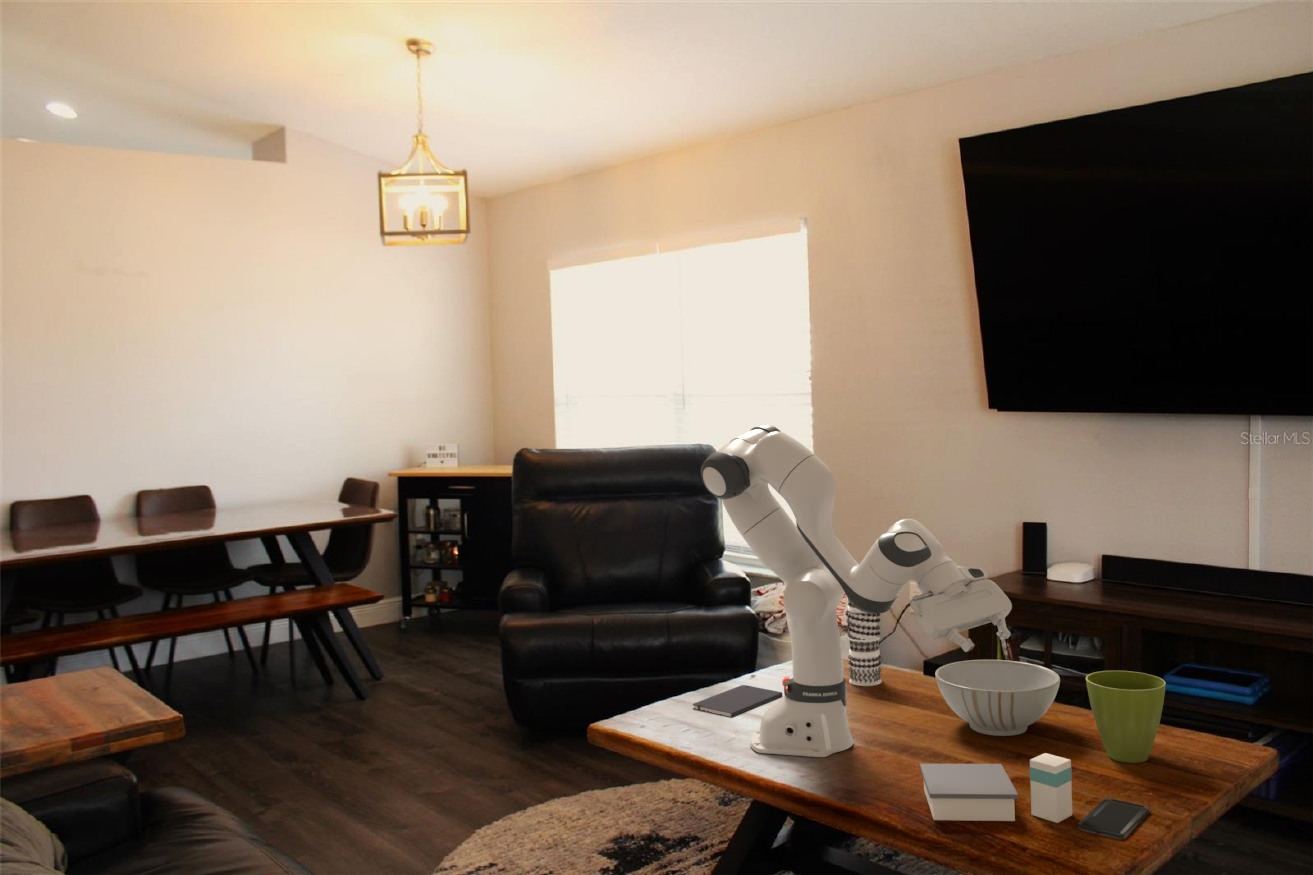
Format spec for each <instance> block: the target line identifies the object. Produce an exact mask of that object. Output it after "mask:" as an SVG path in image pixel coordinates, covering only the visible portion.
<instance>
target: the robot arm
mask: <svg viewBox="0 0 1313 875" xmlns="http://www.w3.org/2000/svg"><path fill="white" fill-rule="evenodd" d="M700 477H701V480H702V483H703V485H704V487H705V489H706V490H707V491H708V492H709V493H710V495H712V496H714V497H715V498H716V499H720V500H721V501H722V504H723V506H724V508H725V511H726V513H727V514H728V516H729V518H730V520H731V521H732V523H733V525H734V526H735V528H736V529H737V531H738V533H739V534H740V535H741V537H742V538H743V539H744V541H745V542H746V543H747V545H748V546H749V548H751V550H752V551H753V553H754V554H755V555H756V557H757V558H758V560H759V561H760V563H761V564H763V566H764V567H766V568H768V569H769V570H770V571H772V573H774V574H775V575H776V576H777V577H778V578H779V579H780V580H781V581H782V582H783V583H784V584H785V585H786V586H785V588H784V592H783V597H782V599H783V600H782V601H783V602H782V603H783V608H784V610H785V611H784V612H785V614H786V615H785V616H786V621H787V627H788V632H789V638H790V644H791V662H792V663H791V664H792V678H790V676H784V677H783V678H782V686H783V692H784V693H783V694H784V696H782V697H780V699H779V700H777V701H776V702H775V703H774V704H772V705H771V706H769V707H768V708H766V710H765V711H764V713H763V715H762V718H761V721H760V728H759V729H757V730H755V731H754V732H753V733H752V735H751V737H750V747H751V749H752V750H753V751H755V752H756V753H758V754H770V755H771V754H773V755H785V756H786V755H787V756H798V757H799V756H801V757H813V758H825V757H828V756H831V755H832V754H835V753H838V752H843V751H845V750H848V749H850V748H851V747H852V746H853V745H854V739H853V736H852V733H851V730H850V726H849V721H848V720H849V719H848V714H847V707H846V705H847V701H848V693H847V692H848V691H847V689H848V688H847V682H846V678H844V658H843V657H844V656H843V653H844V652H843V642H842V640H841V635H840V631H839V623H838V614H837V609H838V608H837V607H838V605H839V604H840V603H841V601H842V600H843V599H844V598H843V597H844V594H845V596H846V597H847V600H848V599H849V600H850V602H851V603H852V604H853V605H854V606H855V607H856V608H857V609H858V610H860V611H862V612H865V613H870V614H879V613H880V614H884V613H887V612H888V611H890V609H891V608H892V606H893V605H894V602H895V601H896V599H897V597H898V596H899V594H900V593H901V592H902V591H903V589H904V588H905V586H906V585H907V584H908V582H909V581H910V580H914V581H915V583H916V585H917V588H918V590H920V592H921V594H919V595H918V594H917V595H914V596H912V597H911V599H910V601H909V606H910V608H911V610H912V611H913V613H914V614H915V615H916V619H917V620H918V622H919V624H920V626H921V627H922V629H923V631H924V633H925V634H926V635H927V637H928V638H931V639H932V640H939V639H941V638H944V637H947V638H948V640H950V641H951V642H953V643H954V644H956V645H957V646H960V647H961V649H962V650H963V652H965V653H967V652H970V651H972V650H973V649H974V648H975V643H974V642H973V640H972V639H971V638H965V637H964V636H963V635H962V634H960V633H961V632H963V631H967V630H970V629H974V628H976V627H980V626H983V625H986V624H990V623H992V624H993V625H994V626H997V627H996V628H997V630H998V631H997V632H996V635H997V636H998V638H999V640H1001V641H1003V640H1007V639H1009V637H1011V634H1012V633H1011V631H1010V630H1009V629H1008V628H1007V623H1006V617H1007V616H1008V615H1009V614H1010V612H1011V611H1012V609H1013V604H1012V602H1011V600H1010V599H1009V597H1008V596H1007V594H1005V592H1004V591H1003V589H1001V588H1000V586H999V585H998V584H997V583H996V582H994V581H993V580H991V579H988V576H989V574H988V573H987V572H988V571H986V570H985V569H984V568H981V567H969V566H968V567H966V566H963V565H958V564H956V562H955V560H953V559H951V558H950V556H948V555H947V553H946V551H945V549H944V546H942V544H941V543H940V541H938V539H937V538H936V537H935V535H934V534H933V533H931V531H930V530H928V528H926V526H924V525H923V523H921V522H920V521H918V520H917V519H914V518H904V519H903V518H902V519H900V520H898V521H896V522H894V523H893V524H892V525H891V526H890V527H889V528H888V529H887V531H886V532H884V533H882V534H881V535H880V536H879V537H878V538H877V539H876V540H875V542H874V543H873V544H872V546H870V549H869V550H868V551H867V553H866V555H865V556H864V557H863V559H862V560H861V562H860V563H858V562H857V560H856V559H855V558H854V557H853V555H851V553H850V552H849V551H848V549H847V548H846V547H845V545H843V543H842V542H841V541H840V540H839V538H838V537H837V535H836V534H835V531H834V527H833V525H834V524H833V514H834V507H835V503H836V498H837V482H836V477H835V474H834V473H833V471H832V470H831V469H830V468H829V466H828V465H827V464H826V463H825V462H824V461H822V459H820V458H819V457H818V456H817V455H816V454H815V453H813V451H811V450H810V449H809V448H808V447H806V446H805V445H803V444H802V443H801V442H799V441H798V440H796V439H795V438H793V437H792V436H790V435H788V434H787V433H784V432H782V431H781V430H780V429H779V428H777V427H776V426H774V425H771V424H764V425H763V424H762V425H758V426H755V427H752V428H751V429H750V430H749V431H746V432H744V433H742V434H740V435H738V436H735V437H734V438H732V439H731V440H730V441H729V442H728V443H726V444H725V445H723V446H722V447H721V448H719V449H718V450H717V451H716V452H713V453H711V454H709V455H708V457H707V458H706V459H705V460H704V461H703V463H702V464H701V467H700ZM769 486H771V487H772V489H773V490H775V491H776V492H777V494H778V495H780V497H782V498H783V499H784V500H785V501H786V503H787V505H788V506H789V508H790V510H791V512H792V513H793V515H794V518H795V521H796V522H795V523H794V521H793V519H792V518H791V517H790V515H789V514H788V513H787V512H786V510H785V509H784V507H782V505H781V503H779V501H778V500H777V499H776V498H775V496H774V495H773V493H772V492H771V491H770V489H769Z"/></svg>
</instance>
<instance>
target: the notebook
mask: <svg viewBox="0 0 1313 875" xmlns="http://www.w3.org/2000/svg"><path fill="white" fill-rule="evenodd" d="M779 698H783V691H777V690H772V689H766V688H762V687H758V686H757V687H756V686H753V685H745V684H742V685H739V686H736V687H734V688H731V689H728V690H725V691H723V692H720V693H718V694H715V695H713V696H709V697H707V698H705V699H702V700H699V701H697V702H694V703H692V705H693V709H694V708H696V709H695V710H698V711H702V710H705V711H704V712H707V711H709V712H708V713H711V712H712V713H711V714H716V715H720V714H722V715H721V716H725V715H726V717H730V718H733V717H734V718H735V717H736V716H738V715H740V714H743V713H745V712H748V711H750V710H752V709H755V708H758V707H760V706H762V705H764V704H767V703H769V702H773V701H774V700H776V699H779Z"/></svg>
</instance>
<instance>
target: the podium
mask: <svg viewBox="0 0 1313 875" xmlns="http://www.w3.org/2000/svg"><path fill="white" fill-rule="evenodd" d="M919 769H920V773H921V775H922V778H923V791H924V794H925V797H926V800H927V803H928V806H929V809H930V813H931V816H932V818H933V821H968V822H969V821H972V822H973V821H974V822H975V821H976V822H977V821H978V822H979V821H980V822H981V821H983V822H987V821H988V822H989V821H990V822H992V821H993V822H994V821H995V822H1016V818H1015V817H1016V815H1015V814H1016V811H1015V809H1016V808H1015V800H1019V794H1018V792H1017V790H1016V788H1015V786H1014V785H1013V783H1012V781H1011V779H1010V777H1009V775H1008V774H1007V772H1006V770H1005V768H1004V766H1003V765H1002V763H919Z"/></svg>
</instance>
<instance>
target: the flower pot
mask: <svg viewBox="0 0 1313 875" xmlns="http://www.w3.org/2000/svg"><path fill="white" fill-rule="evenodd" d="M1085 681H1086V682H1085V683H1086V690H1087V693H1088V697H1089V698H1088V699H1089V703H1090V707H1091V710H1092V715H1093V717H1094V722H1095V725H1096V728H1097V730H1098V733H1099V737H1100V739H1101V742H1102V744H1103V746H1104V748H1105V752H1106V754H1107V756H1108V758H1110V759H1112V760H1114V761H1117V762H1121V763H1128V764H1129V763H1130V764H1134V763H1135V764H1136V763H1137V764H1138V763H1144V762H1146V761H1147V760H1148V759H1149V756H1150V754H1151V751H1152V748H1153V746H1154V743H1155V739H1156V737H1157V734H1158V729H1159V727H1160V726H1159V725H1160V724H1161V723H1160V722H1161V717H1162V712H1163V706H1164V702H1165V701H1164V700H1165V695H1166V684H1167V683H1166V681H1165V680H1164V679H1163V678H1161V677H1159V676H1156V675H1153V674H1148V673H1145V672H1138V671H1130V670H1129V671H1128V670H1102V671H1096V672H1095V671H1094V672H1092V673H1089V674H1087V675H1086V677H1085Z"/></svg>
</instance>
